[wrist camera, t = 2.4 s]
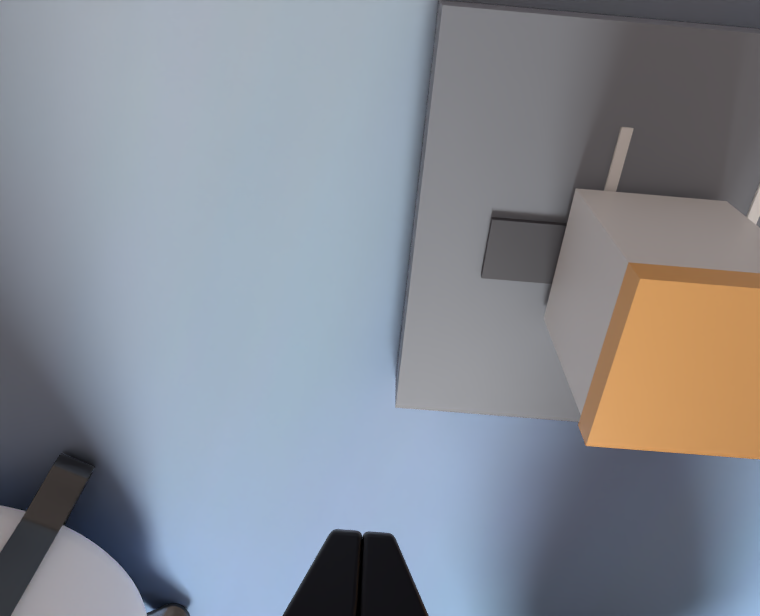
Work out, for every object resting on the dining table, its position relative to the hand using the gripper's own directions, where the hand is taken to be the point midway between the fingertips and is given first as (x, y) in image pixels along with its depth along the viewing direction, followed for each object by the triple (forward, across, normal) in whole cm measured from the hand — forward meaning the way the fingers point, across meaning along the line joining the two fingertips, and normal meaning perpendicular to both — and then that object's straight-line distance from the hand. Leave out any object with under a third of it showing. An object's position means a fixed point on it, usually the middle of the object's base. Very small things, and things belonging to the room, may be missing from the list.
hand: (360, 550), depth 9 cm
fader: (+10, -7, 0) cm, 12 cm away
